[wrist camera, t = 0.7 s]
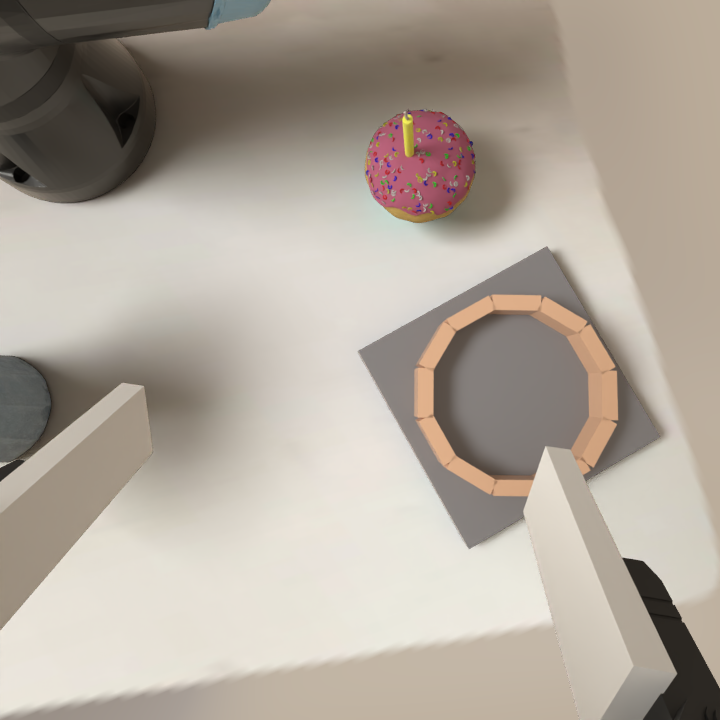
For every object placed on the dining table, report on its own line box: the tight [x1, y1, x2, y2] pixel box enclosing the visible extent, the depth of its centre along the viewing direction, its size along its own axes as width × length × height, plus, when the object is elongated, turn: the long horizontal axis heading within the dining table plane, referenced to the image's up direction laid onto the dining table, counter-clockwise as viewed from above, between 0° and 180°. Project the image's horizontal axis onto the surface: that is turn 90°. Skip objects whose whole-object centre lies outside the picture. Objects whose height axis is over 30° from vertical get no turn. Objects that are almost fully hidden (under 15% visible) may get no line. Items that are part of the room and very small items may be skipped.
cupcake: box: [365, 109, 476, 223], centre depth 34 cm, size 9×8×12 cm
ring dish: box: [358, 247, 660, 549], centre depth 37 cm, size 18×18×4 cm
